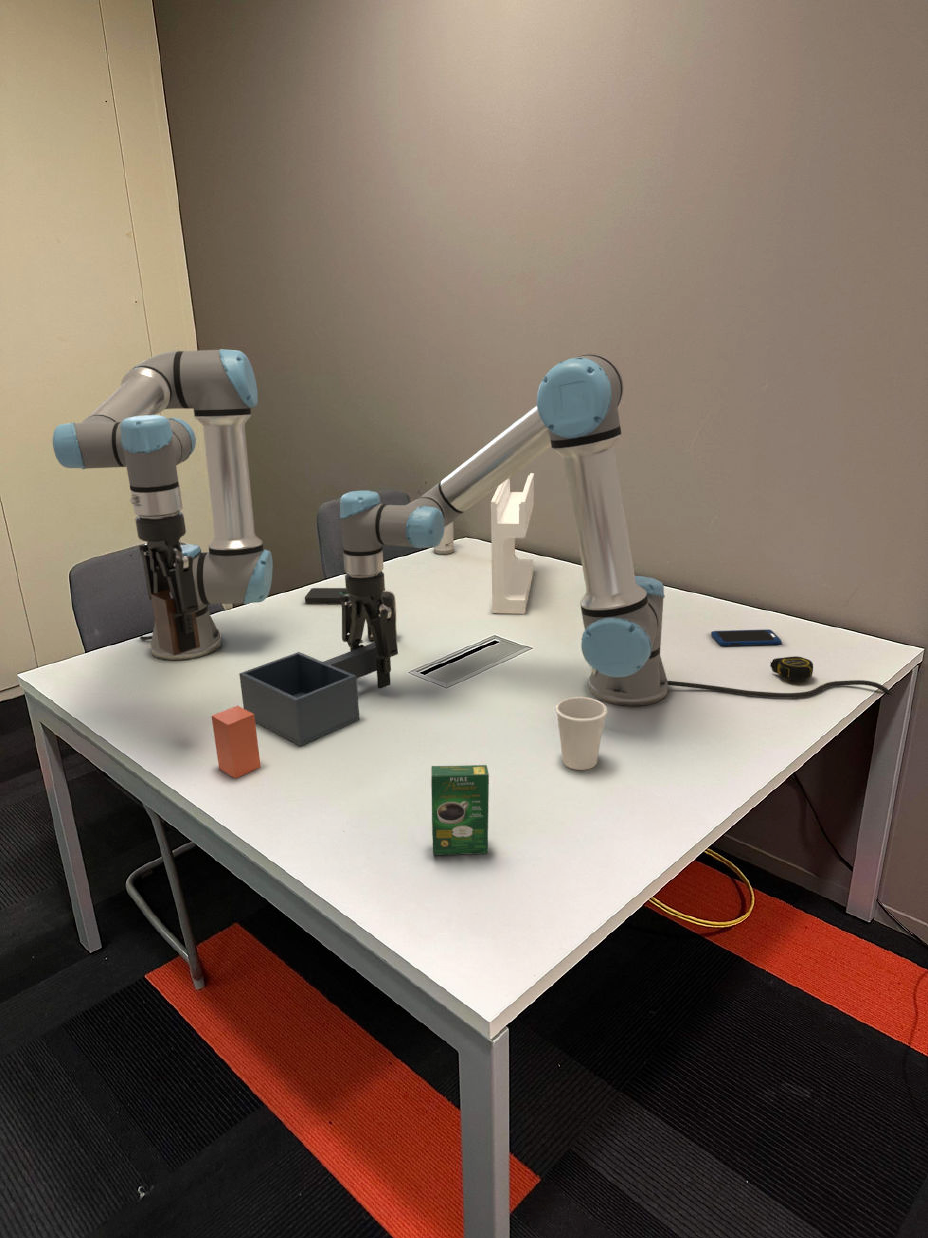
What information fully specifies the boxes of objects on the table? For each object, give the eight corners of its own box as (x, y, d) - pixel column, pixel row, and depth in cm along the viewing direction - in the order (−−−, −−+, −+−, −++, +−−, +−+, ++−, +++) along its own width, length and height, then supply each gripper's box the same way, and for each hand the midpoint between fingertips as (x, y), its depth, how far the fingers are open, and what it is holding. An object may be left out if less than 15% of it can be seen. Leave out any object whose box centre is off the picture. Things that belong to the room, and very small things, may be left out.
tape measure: (799, 669, 175) (801, 652, 174) (818, 683, 169) (820, 665, 168) (769, 672, 174) (770, 655, 173) (786, 686, 168) (788, 669, 167)
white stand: (505, 570, 244) (504, 473, 234) (533, 571, 243) (533, 473, 233) (492, 612, 211) (490, 501, 202) (524, 613, 210) (524, 501, 200)
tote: (300, 746, 150) (295, 700, 147) (244, 716, 162) (239, 673, 159) (412, 695, 169) (410, 653, 166) (355, 671, 180) (352, 632, 177)
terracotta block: (218, 768, 144) (211, 715, 140) (244, 757, 147) (237, 705, 144) (235, 778, 141) (227, 724, 137) (260, 767, 144) (254, 714, 141)
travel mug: (452, 554, 260) (450, 489, 253) (431, 553, 262) (429, 489, 254) (456, 549, 266) (455, 485, 259) (436, 548, 267) (434, 485, 260)
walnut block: (159, 648, 148) (150, 594, 144) (185, 639, 151) (177, 586, 147) (174, 656, 145) (165, 600, 141) (200, 647, 148) (192, 592, 144)
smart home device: (380, 597, 219) (304, 597, 221) (380, 604, 220) (304, 603, 221) (385, 587, 227) (311, 587, 228) (386, 593, 227) (312, 593, 229)
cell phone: (782, 644, 188) (782, 641, 188) (719, 646, 188) (719, 643, 188) (770, 632, 195) (771, 629, 195) (710, 633, 195) (710, 630, 195)
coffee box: (488, 842, 122) (487, 762, 118) (490, 854, 120) (488, 773, 115) (432, 844, 122) (429, 764, 117) (432, 857, 119) (429, 775, 115)
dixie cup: (592, 779, 138) (594, 723, 134) (546, 766, 142) (546, 712, 138) (612, 756, 144) (615, 703, 141) (567, 744, 148) (569, 692, 145)
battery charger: (365, 642, 195) (362, 595, 191) (368, 636, 199) (365, 589, 195) (395, 642, 195) (392, 595, 191) (398, 636, 198) (395, 589, 194)
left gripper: (111, 509, 142) (134, 638, 151) (165, 527, 131) (187, 665, 139) (153, 501, 148) (173, 626, 156) (208, 517, 136) (227, 651, 144)
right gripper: (413, 577, 160) (419, 688, 168) (346, 558, 173) (354, 662, 181) (383, 587, 155) (390, 701, 163) (317, 567, 168) (326, 674, 176)
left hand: (179, 644), depth 148 cm, fingers closed on walnut block, 5 cm apart
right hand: (371, 681), depth 172 cm, fingers open, 7 cm apart
